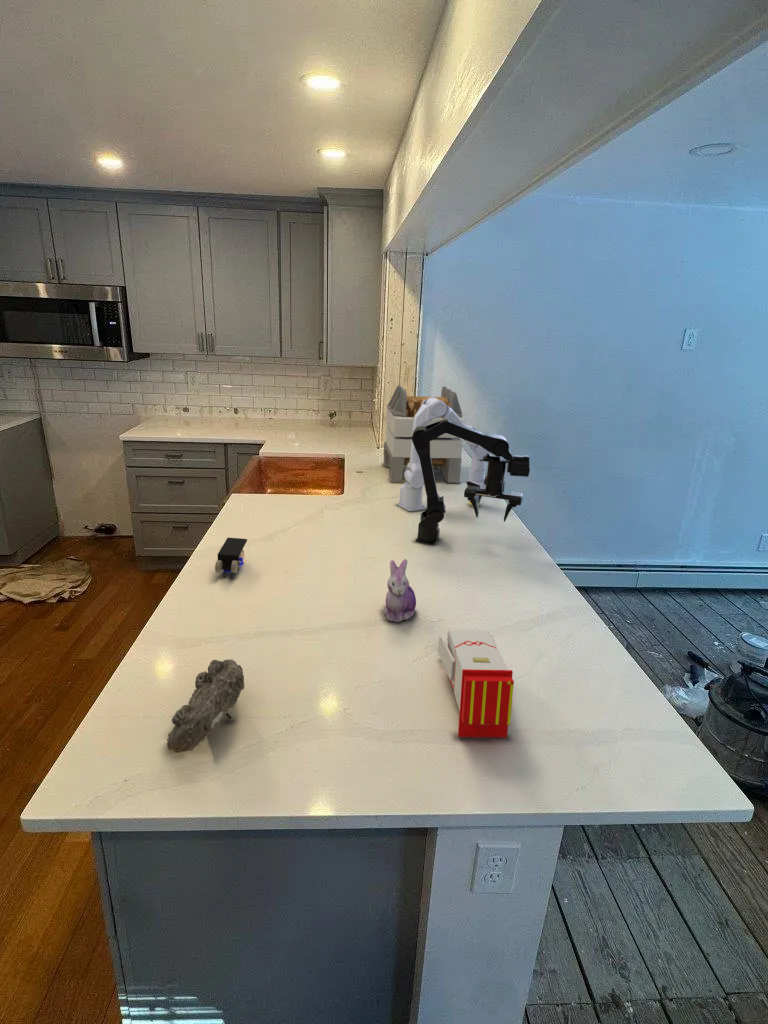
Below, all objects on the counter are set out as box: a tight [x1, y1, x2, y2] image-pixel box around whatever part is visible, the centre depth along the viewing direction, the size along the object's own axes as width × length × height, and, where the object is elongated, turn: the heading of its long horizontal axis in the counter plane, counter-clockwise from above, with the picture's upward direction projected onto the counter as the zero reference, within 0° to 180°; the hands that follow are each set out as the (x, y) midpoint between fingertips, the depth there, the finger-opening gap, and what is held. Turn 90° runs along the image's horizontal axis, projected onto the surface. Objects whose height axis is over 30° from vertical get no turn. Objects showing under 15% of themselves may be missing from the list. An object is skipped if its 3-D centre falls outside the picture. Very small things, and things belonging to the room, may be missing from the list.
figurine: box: [384, 558, 417, 623], centre depth 145 cm, size 9×10×15 cm
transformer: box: [383, 384, 465, 484], centre depth 268 cm, size 34×33×41 cm
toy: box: [437, 628, 515, 738], centre depth 117 cm, size 12×13×30 cm
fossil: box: [166, 658, 245, 754], centre depth 106 cm, size 22×10×15 cm
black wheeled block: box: [214, 537, 248, 578], centre depth 166 cm, size 7×8×15 cm
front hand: (490, 519), depth 191 cm, fingers open, 9 cm apart
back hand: (474, 500), depth 232 cm, fingers closed on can, 4 cm apart
